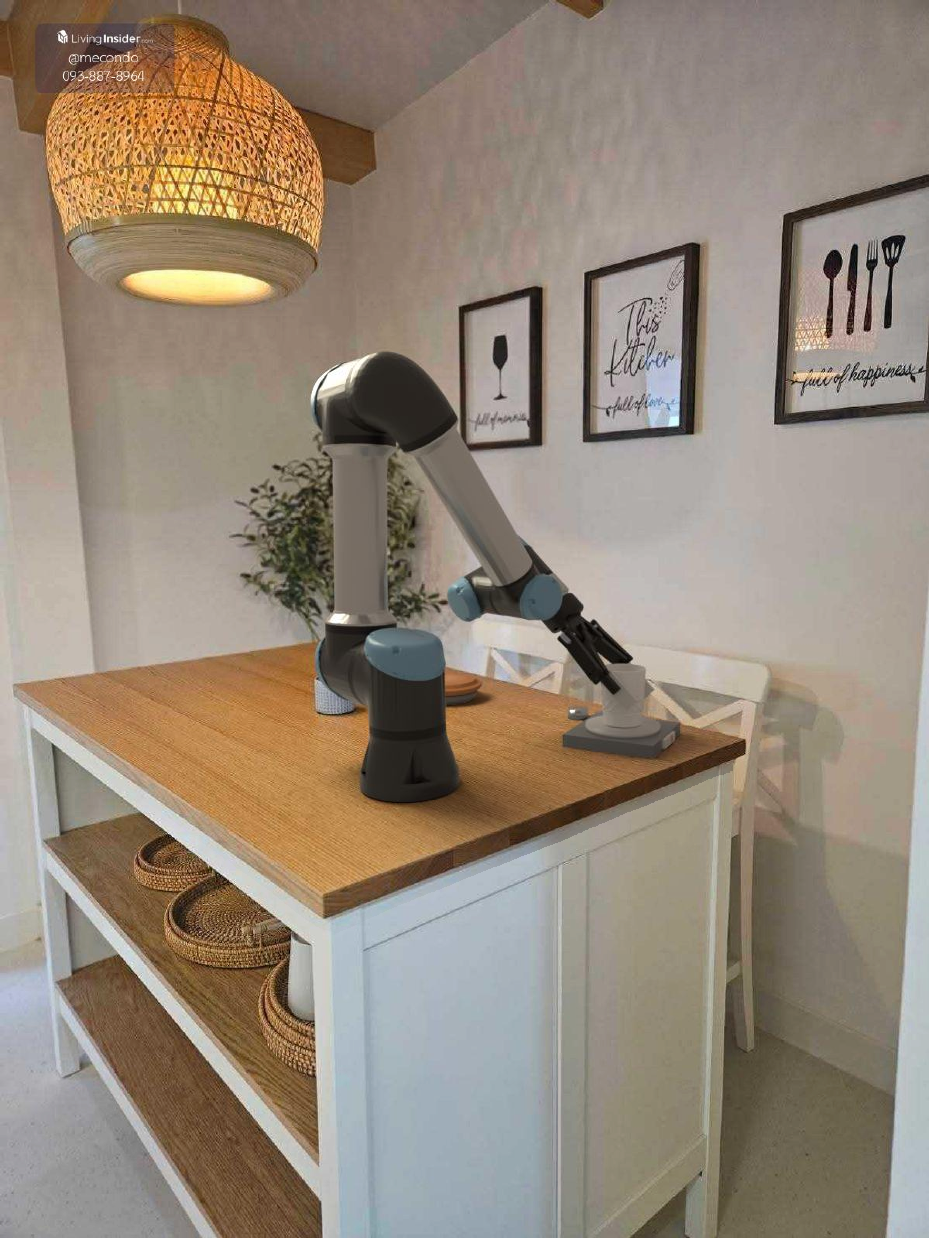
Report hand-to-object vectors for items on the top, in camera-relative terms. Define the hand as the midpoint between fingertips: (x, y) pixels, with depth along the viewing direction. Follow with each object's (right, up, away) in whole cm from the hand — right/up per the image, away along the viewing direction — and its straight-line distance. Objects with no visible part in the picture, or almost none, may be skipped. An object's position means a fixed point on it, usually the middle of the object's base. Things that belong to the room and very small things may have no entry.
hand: (640, 700), depth 141 cm
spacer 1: (-8, -6, +19) cm, 21 cm away
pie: (-34, -4, +37) cm, 51 cm away
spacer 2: (-4, -6, +15) cm, 16 cm away
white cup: (-3, -5, +3) cm, 6 cm away
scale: (-3, -7, +3) cm, 8 cm away
